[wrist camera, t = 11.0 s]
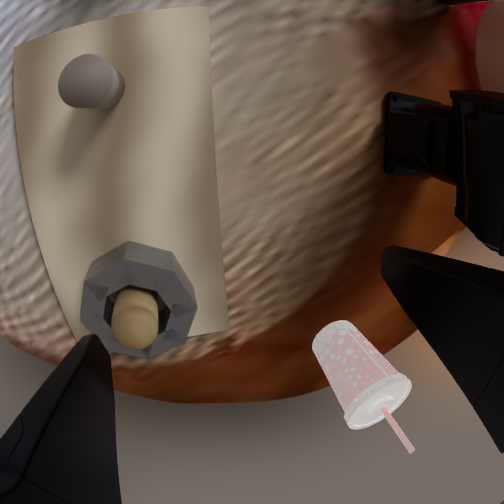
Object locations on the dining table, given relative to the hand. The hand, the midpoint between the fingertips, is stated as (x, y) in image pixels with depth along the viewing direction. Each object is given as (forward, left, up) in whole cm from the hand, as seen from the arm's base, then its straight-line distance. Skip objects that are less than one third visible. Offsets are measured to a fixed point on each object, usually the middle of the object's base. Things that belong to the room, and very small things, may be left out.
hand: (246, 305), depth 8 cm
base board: (+5, -1, -12) cm, 13 cm away
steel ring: (+5, +6, -11) cm, 13 cm away
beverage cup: (-11, +15, -12) cm, 22 cm away
